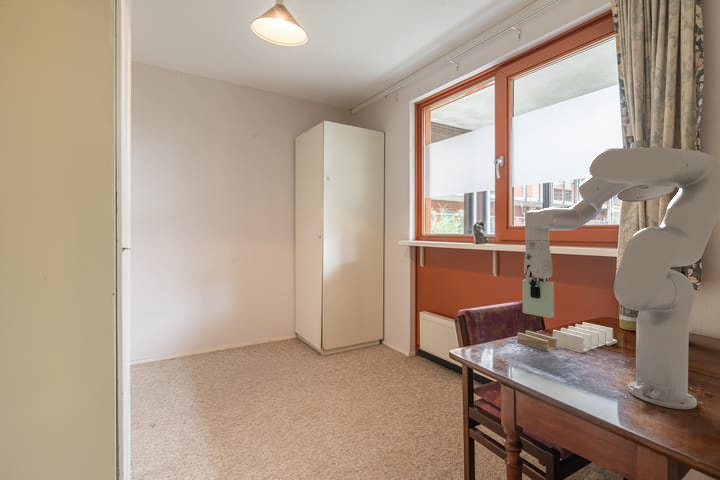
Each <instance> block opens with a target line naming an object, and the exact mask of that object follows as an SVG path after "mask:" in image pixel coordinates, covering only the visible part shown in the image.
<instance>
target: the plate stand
mask: <svg viewBox="0 0 720 480" xmlns="http://www.w3.org/2000/svg"><path fill="white" fill-rule="evenodd" d="M516 335H517V336H516V342H517V343H519V344H524V345H526V346H530V347H534V348H537V349H540V350H541V351H542V350H543V351H546V352H548V351H551V350H555V349H559V348H560V347H559V346H557V338H553V336H549V335H546V334H541V333H538V332H535V331H531V330H525V333H523V332H517V333H516Z"/></svg>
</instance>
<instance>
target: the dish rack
mask: <svg viewBox="0 0 720 480" xmlns="http://www.w3.org/2000/svg"><path fill="white" fill-rule="evenodd" d="M552 337H553V338H557V347H559V348H560V347H561V348H563V349H567V350H571V351H574V352H578V353H580V354H581V353H584V352H587V351H590V350H593V349H596V348H599V347H602V346H609V347H610V346H612V345H616V344H618V339H615V338H614V328H613V327H609V326H603V325H599V324H595V323H589V322H585V321H584V322H583V321H582V324H578V323H575V325H574V326H572V325H568V326H567V328H565V327H561V328H560V330H558V329H557V330H556V329H553V330H552Z"/></svg>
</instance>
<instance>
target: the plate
mask: <svg viewBox="0 0 720 480" xmlns="http://www.w3.org/2000/svg"><path fill="white" fill-rule="evenodd" d="M521 284H522V313H523V314H526V315H532V316H537V317H543V318H547V319H552V318H555V291H554V290H555V289H554V287H555V283H554V282H553V281H547V282H546V281H539V286H538V287H540V298H532V297H531V296H530V286H529V282H528V281H526V280H525V279H522V283H521Z"/></svg>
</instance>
